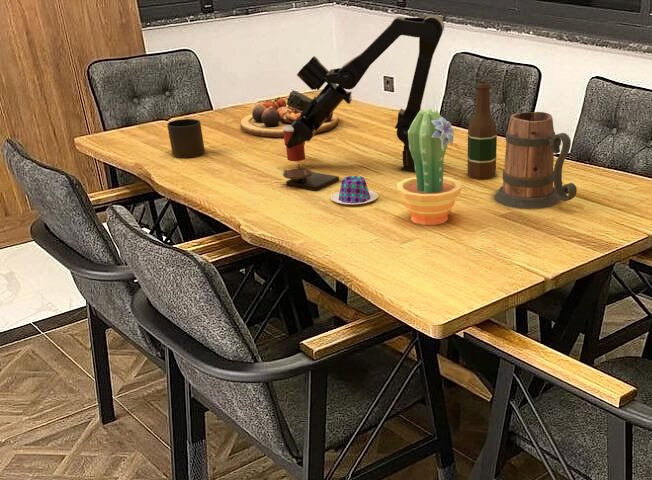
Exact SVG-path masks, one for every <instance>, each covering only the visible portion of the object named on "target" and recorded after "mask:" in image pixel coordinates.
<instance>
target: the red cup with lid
mask: <svg viewBox="0 0 652 480" xmlns="http://www.w3.org/2000/svg"><path fill="white" fill-rule="evenodd" d="M282 129H283V133H284V137H283V141H284V146H285V150H286V158H287V159H286V160H287V161H289V162H301V161H304V160H305V159H306V151H305V145H306V141H305V142H303V143H300V144H298V145H296V146H293V147H291V148H288V147H287V146H286V145H287V143H288V141H289V139H290V137H291V136H292V134H293V132H294V129H293V127H292V126H291V125H288V126H284V127H283V128H282Z"/></svg>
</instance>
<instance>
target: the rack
mask: <svg viewBox="0 0 652 480" xmlns="http://www.w3.org/2000/svg"><path fill="white" fill-rule="evenodd" d="M301 166H302V165H301V164H300V163H298V164H297V168H291V169H287V168H284V169H283V172H282V177H283V178H284V179H288V180H286V182H285V183H286V184H285V185H286V186H287V187H292V188H297V189H303V190H307V191H313V192H318V191H320V190H323V189H324V188H327V187H329V186H331V185H333V184H335V183H338V182H339V181H340V177H339V175H332V174H327V173H321V172H315V171H312V170H310V169H308V168H302V167H301Z"/></svg>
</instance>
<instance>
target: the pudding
mask: <svg viewBox="0 0 652 480" xmlns="http://www.w3.org/2000/svg"><path fill="white" fill-rule="evenodd" d="M378 197H379V194H378V193H377V192H376V191H374V190H371V189H369V188H368V184H367V181H366V179H365V177H363V176H360V175H349V176H346V177H343V178H342V180H341V182H340V188H339V191H335V192H334V193H332V194H331V195H330V200H331V201H333V202H335V203H338V204H343V205H361V204H368V203H370V202H372V201H375V200H376V199H378Z"/></svg>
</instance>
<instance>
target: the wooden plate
mask: <svg viewBox="0 0 652 480" xmlns="http://www.w3.org/2000/svg"><path fill="white" fill-rule="evenodd" d="M301 112H302V111H300V110H298V109H296V108H294V107H290V106H288V105H287V101H286V100H285V99H284V98H282V97H280V96H278V97H277V98H274V101H273V100H266V101H265V102H264V103H258V104H256V105H255V106H254V108H253V109H252V112H251V114H249V115H246V116H244V117H243V118H242V119H241V120H240V123H239V126H240V128H241V129H242V131H244V132H245V133H248V134H252V135H256V136H262V137H269V138H271V137H274V138H284V133H283V129H282V128H283V127H284V126H288V125H291V124H292V123H293V122H294V121H295V119H296V118H297V117H300V115H301ZM338 123H339V116H338V115H337V114H336V113H334V111H333V112H332V113H331V114H330V116H329V117H328V118H327V119H326V120H325V122H324V123H323V124H322V125H321V126H320V127H319V128H318V129H317V131H315V134H319V133H322V132H326V131H328V130H331V129H332V128H334V127H336V126H337V125H338Z"/></svg>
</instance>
